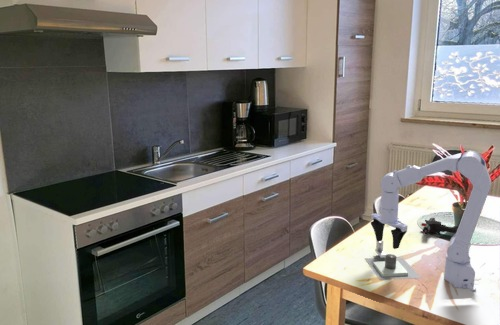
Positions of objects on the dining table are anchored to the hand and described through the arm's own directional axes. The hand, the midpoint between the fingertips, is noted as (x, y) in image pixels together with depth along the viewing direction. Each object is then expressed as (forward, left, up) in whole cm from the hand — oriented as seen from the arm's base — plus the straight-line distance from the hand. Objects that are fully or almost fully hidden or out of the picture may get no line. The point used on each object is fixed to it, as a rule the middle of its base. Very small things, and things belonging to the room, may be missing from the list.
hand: (387, 244), depth 154 cm
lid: (-4, 0, -8) cm, 9 cm away
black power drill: (+29, -34, -10) cm, 46 cm away
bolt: (+6, 0, -6) cm, 9 cm away
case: (-2, -1, -9) cm, 10 cm away
